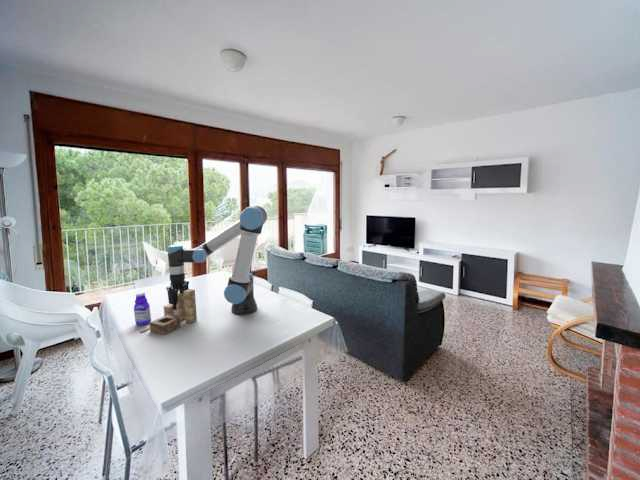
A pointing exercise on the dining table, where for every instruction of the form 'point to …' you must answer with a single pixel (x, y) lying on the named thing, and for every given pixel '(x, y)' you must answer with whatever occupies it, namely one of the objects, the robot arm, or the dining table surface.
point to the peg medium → (181, 306)
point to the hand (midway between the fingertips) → (180, 313)
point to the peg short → (169, 310)
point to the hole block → (165, 325)
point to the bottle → (142, 309)
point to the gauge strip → (145, 330)
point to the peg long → (190, 306)
